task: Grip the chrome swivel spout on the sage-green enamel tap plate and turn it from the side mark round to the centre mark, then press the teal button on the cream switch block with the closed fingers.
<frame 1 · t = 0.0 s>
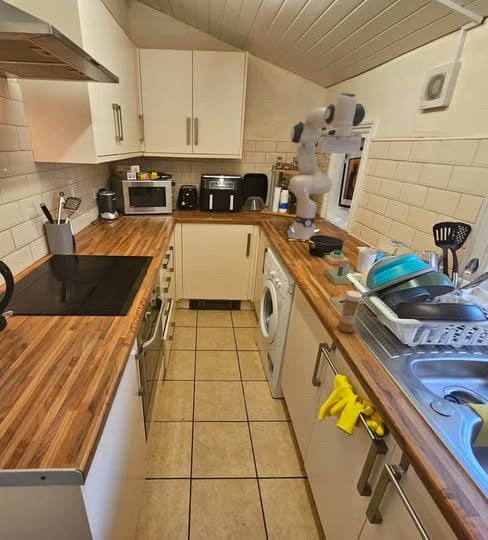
hand: (335, 163, 148), 48 cm above the table, tool pointing down, fingers open, 8 cm apart
tap plate: (341, 279, 137), on the table
sprinkles bottle: (345, 329, 100), on the table
button: (337, 252, 156), point 4 cm above the table, slide at 0.1 cm
white cup: (363, 271, 146), on the table
spout: (343, 268, 135), point 5 cm above the table, hinge at -45.0°
switch block: (335, 260, 158), on the table
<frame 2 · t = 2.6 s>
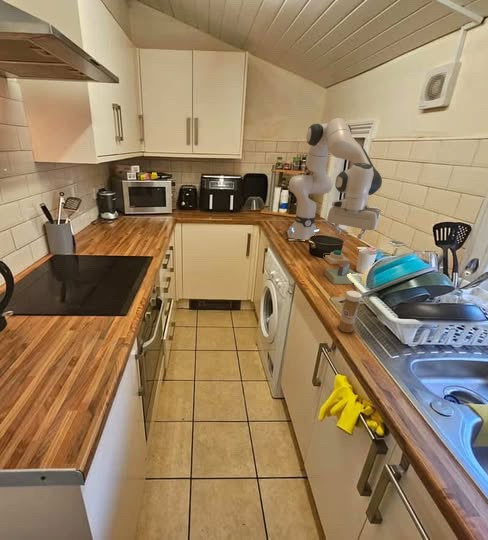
hand: (348, 236, 131), 20 cm above the table, tool pointing down, fingers open, 8 cm apart
nothing on the table moved.
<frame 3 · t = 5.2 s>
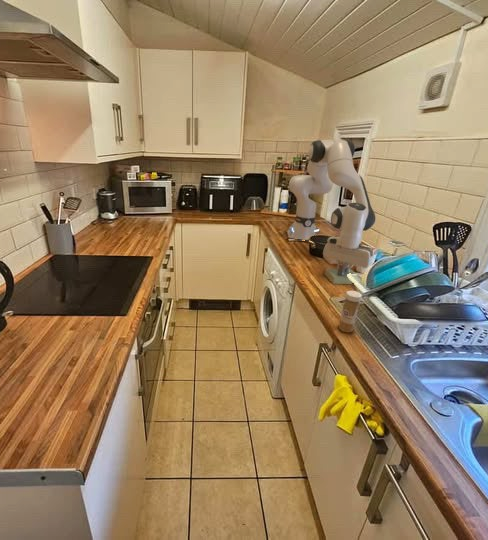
hand: (343, 271, 135), 4 cm above the table, tool pointing down, fingers closed on spout, 2 cm apart
spout: (343, 268, 135), point 5 cm above the table, hinge at -45.0°, touching gripper
everything else where it was.
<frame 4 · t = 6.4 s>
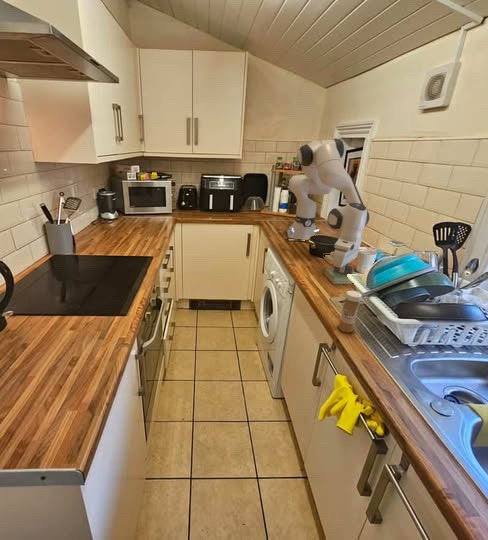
hand: (343, 271, 135), 4 cm above the table, tool pointing down, fingers closed on spout, 2 cm apart
spout: (343, 268, 135), point 5 cm above the table, hinge at 44.4°, touching gripper
everything else where it was.
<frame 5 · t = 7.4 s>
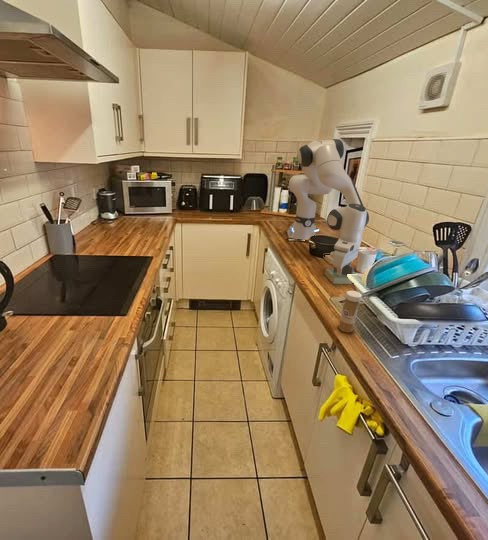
hand: (343, 271, 135), 4 cm above the table, tool pointing down, fingers open, 8 cm apart
spout: (343, 268, 135), point 5 cm above the table, hinge at 44.6°
everything else where it was.
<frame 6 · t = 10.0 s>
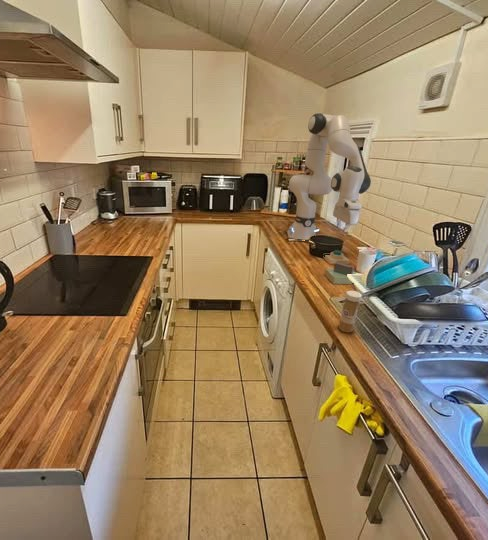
hand: (341, 229, 151), 17 cm above the table, tool pointing down, fingers open, 6 cm apart
nothing on the table moved.
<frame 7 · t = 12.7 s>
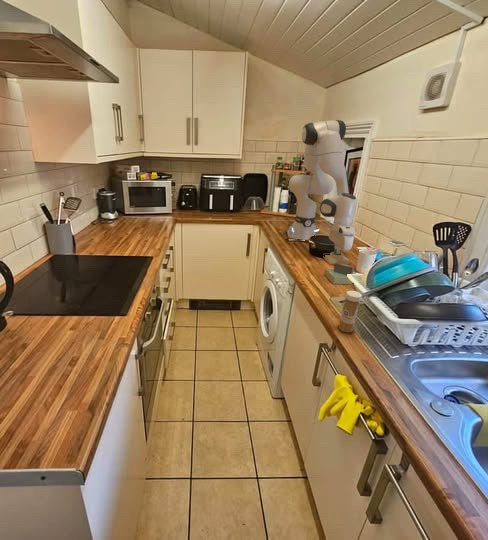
hand: (337, 252, 156), 5 cm above the table, tool pointing down, fingers closed, pressing on button
button: (337, 254, 157), point 4 cm above the table, slide at -0.7 cm, touching gripper
everything else where it was.
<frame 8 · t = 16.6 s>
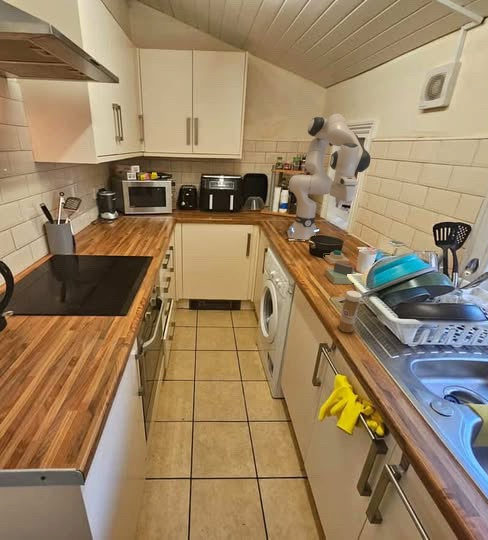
hand: (338, 207, 151), 27 cm above the table, tool pointing down, fingers closed
button: (337, 252, 156), point 4 cm above the table, slide at 0.1 cm
everything else where it was.
at the end: spout at +45° (first picture: -45°); button pushed in 1.1 cm at the most during the clip, back to where it started at the end; button slide at 0.1 cm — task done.
